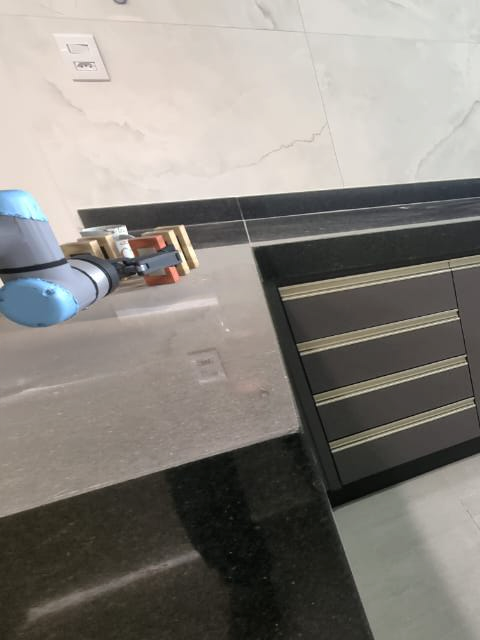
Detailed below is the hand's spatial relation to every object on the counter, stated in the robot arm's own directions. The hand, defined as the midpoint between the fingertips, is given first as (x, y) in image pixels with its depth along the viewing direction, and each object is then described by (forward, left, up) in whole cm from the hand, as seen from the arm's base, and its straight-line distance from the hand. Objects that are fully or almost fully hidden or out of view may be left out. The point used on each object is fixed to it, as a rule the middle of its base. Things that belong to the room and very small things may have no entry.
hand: (133, 254), depth 108 cm
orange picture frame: (-5, +5, -8) cm, 11 cm away
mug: (-31, +11, -8) cm, 34 cm away
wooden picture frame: (-13, +13, -8) cm, 20 cm away
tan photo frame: (-18, +1, -8) cm, 19 cm away
